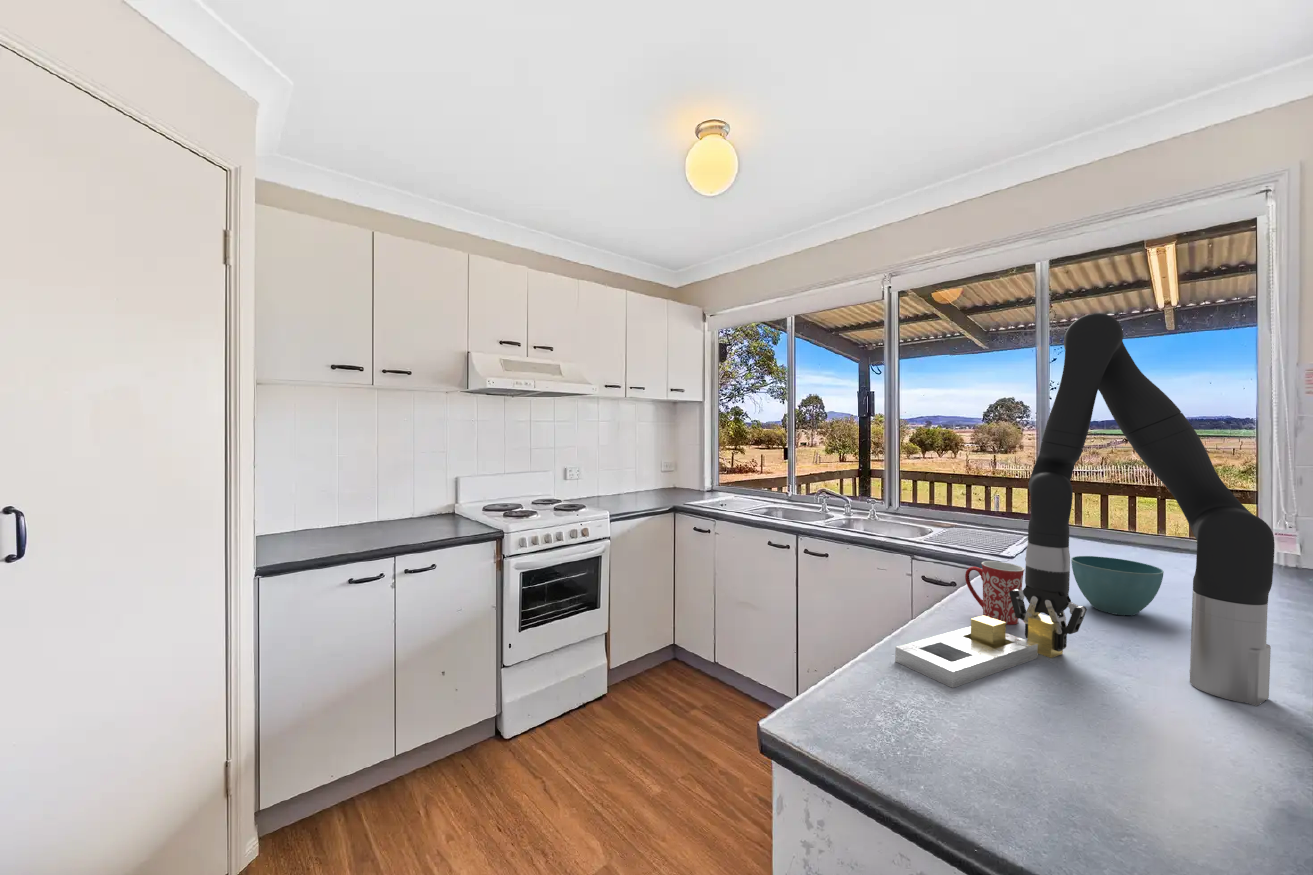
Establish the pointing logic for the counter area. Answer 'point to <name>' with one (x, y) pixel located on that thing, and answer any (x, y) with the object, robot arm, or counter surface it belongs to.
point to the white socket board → (963, 656)
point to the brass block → (1043, 635)
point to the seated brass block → (988, 631)
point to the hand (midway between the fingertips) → (1044, 645)
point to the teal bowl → (1116, 583)
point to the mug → (997, 589)
